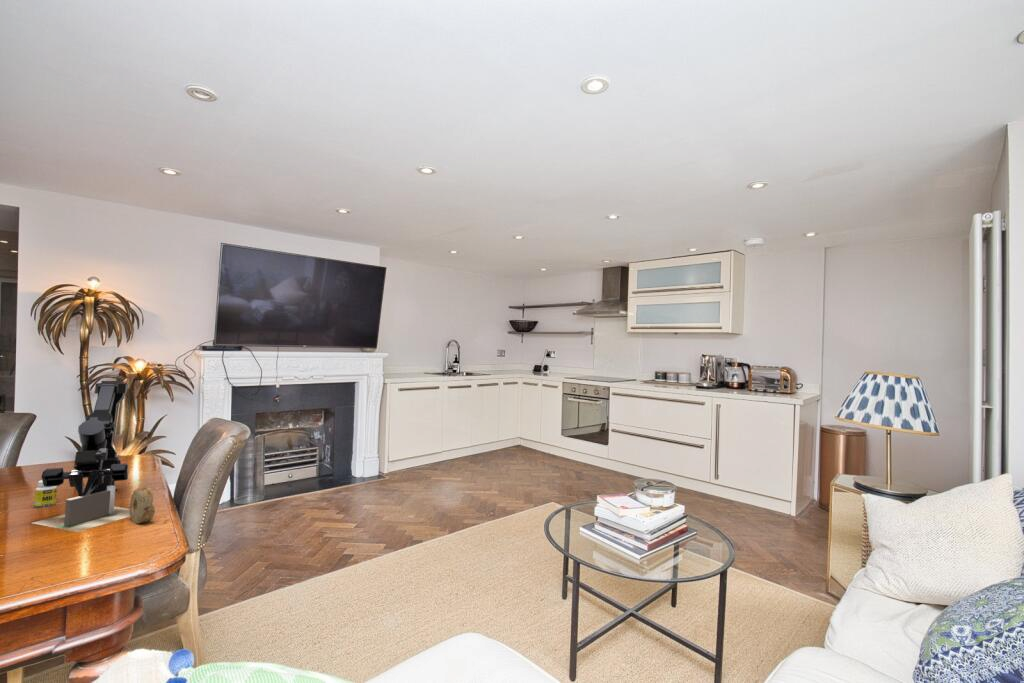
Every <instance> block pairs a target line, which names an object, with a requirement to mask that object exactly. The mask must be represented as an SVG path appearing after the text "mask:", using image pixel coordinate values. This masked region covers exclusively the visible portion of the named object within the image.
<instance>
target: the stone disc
mask: <svg viewBox="0 0 1024 683" xmlns="http://www.w3.org/2000/svg"><path fill="white" fill-rule="evenodd" d="M153 501H154V492H153V490H152V488H151V487H148V486H147V487H139V488H136V489H134V490H133V492H132V494H131V496H130V501H129V502H130V503H129V508H128V509H129V512H130V517H129V518H130V520H131V522H133V523H135V524H145V523H150V522H151V521H152V520H153V518H154V516H155V513H156V507H155V506H154V504H153Z"/></svg>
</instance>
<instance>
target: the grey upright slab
mask: <svg viewBox="0 0 1024 683" xmlns="http://www.w3.org/2000/svg"><path fill="white" fill-rule="evenodd" d="M116 486H117V485H116V484H114V485H109V486H107V490H106V491H102V492H97V493H93V494H89V495H85V496H81V497H80V496H78V495H77V496H74V497H71V498H66V501H65V510H64V511H65V512H64V514H65V520H64V526H66V527H69V526H73V525H76V524H79V523H83V522H86V521H90V520H93V519H97V518H100V517H104V516H107V515H111V514H113V511H114V507H115V499H116V498H115V497H116V491H115V489H117V487H116Z"/></svg>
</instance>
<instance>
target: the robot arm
mask: <svg viewBox="0 0 1024 683" xmlns="http://www.w3.org/2000/svg"><path fill="white" fill-rule="evenodd" d="M94 387H95V388H94V394H96V395H97V397H96V398H97V399H96V402H95V405H94V409H93V412H92V413H89V415H87V416H86V418H85V421H83V422H82V423H80V424H79V425H78V429H77V431H78V434H79V435H78V437H79V442H80V443H81V447H80V450H79V451H76V453H75V458H74V465H73V468H74V469H73V470H70V471H67V472H65V471H64V468H63V467H55V468H54V467H53V468H46V469H44V470H43V471H42V474H41V480H42V481H43V485H44V486H46V487H50V486H57V487H60V486H61V485H62V484H64V481H65V480H68V483H69V486H70V487H71V488H73V487H74V489H75V490H76V492H77V497H78V496H80V497H81V496H85V495H89V494H93V493H97V492H102V491H106V490H107V486H109V485H115V482H119V481H120V482H121V481H127V480H128V479H129V472H130V470H129V464H127V463H121V462H122V460H120V457H119V456H118V452H117V451H116V449H115V447H114V436H115V431H116V430H117V425H116V421H117V415H118V414H117V412H118V406H119V405H120V403H122V401H123V400H124V399H125V396H126V395H125V394H127V393H128V388H129V387H128V383H125V381H124V380H101V382H100V383H99V382H98V383H97V382H96V383H95V386H94ZM86 478H87V480H86V484H85V483H84V479H86ZM84 485H85V486H84ZM117 491H118V489H117V488H115V492H117Z"/></svg>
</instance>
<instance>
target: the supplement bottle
mask: <svg viewBox="0 0 1024 683" xmlns="http://www.w3.org/2000/svg"><path fill="white" fill-rule="evenodd" d="M57 490H58V486H50V487H46V486H44V485H43V481H42V479H41V480H39V481H38V482H37V487H36V488H35V490H34V491H35V492H34V502H33V508H34V509H46V508H51V507H53V506H55V505H56V500H57Z"/></svg>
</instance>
